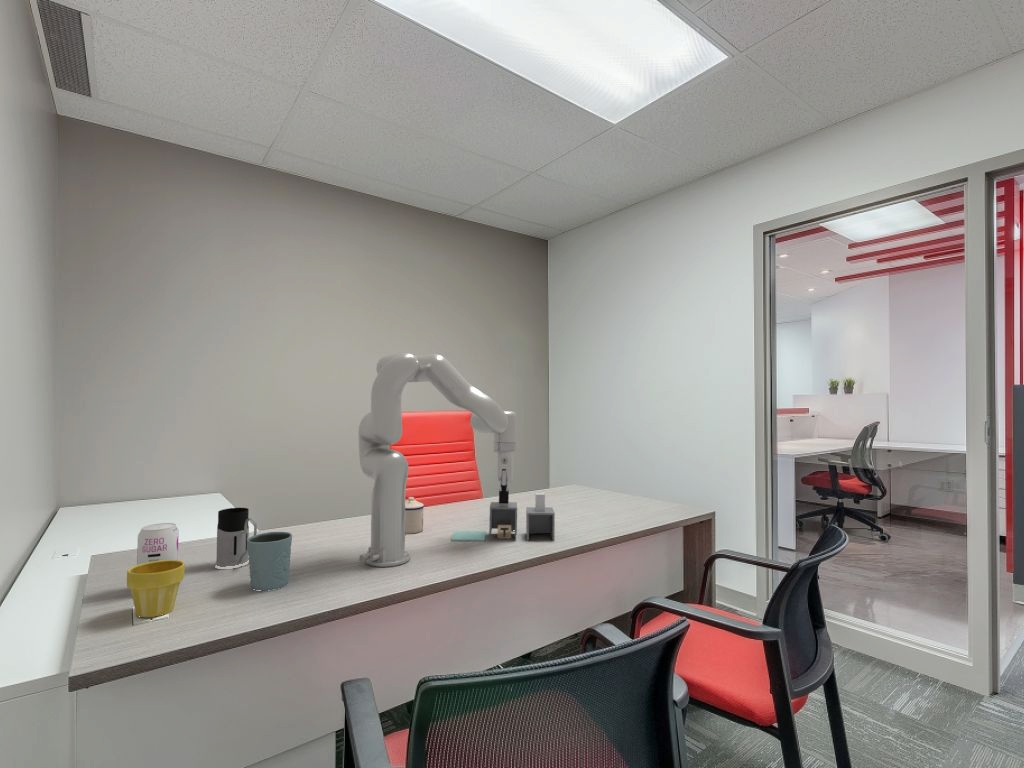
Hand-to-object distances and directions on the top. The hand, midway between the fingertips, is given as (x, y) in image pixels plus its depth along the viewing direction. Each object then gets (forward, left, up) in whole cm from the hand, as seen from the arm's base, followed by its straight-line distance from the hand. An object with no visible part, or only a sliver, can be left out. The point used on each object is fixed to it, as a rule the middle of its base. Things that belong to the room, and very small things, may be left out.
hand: (503, 501), depth 174 cm
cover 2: (+6, -11, -12) cm, 17 cm away
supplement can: (-81, +53, -12) cm, 97 cm away
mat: (-5, +10, -12) cm, 17 cm away
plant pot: (-89, +39, -12) cm, 98 cm away
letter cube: (0, 0, -12) cm, 12 cm away
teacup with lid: (-8, +34, -12) cm, 37 cm away
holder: (-61, +51, -12) cm, 80 cm away
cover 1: (0, 0, -10) cm, 10 cm away
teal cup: (-67, +31, -12) cm, 74 cm away
